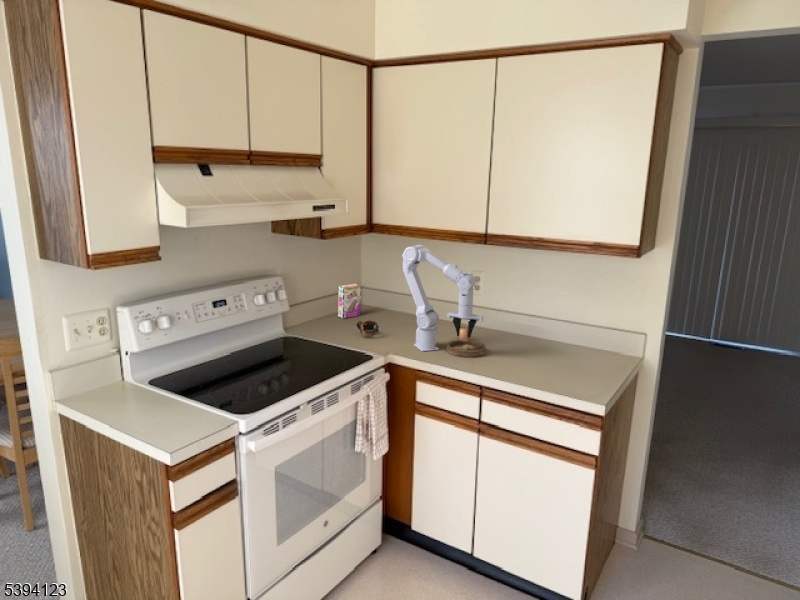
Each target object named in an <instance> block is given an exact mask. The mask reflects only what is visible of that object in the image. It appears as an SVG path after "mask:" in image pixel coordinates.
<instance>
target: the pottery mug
mask: <svg viewBox="0 0 800 600" xmlns="http://www.w3.org/2000/svg"><path fill="white" fill-rule="evenodd" d="M356 327H357V329H358V330H359V333H361V337H362V338H363V339H365V338H366V337H371V336H374V335H376V333H379V332H380V330H379V328H380V326H379V325H378V323H377V322H376V321H375V320H372V319H367V320H364V321H361V320H359V321H357V322H356Z"/></svg>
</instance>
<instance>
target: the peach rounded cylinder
mask: <svg viewBox="0 0 800 600" xmlns="http://www.w3.org/2000/svg"><path fill="white" fill-rule="evenodd" d="M468 330H469V328H468V327H467V326H460V328H459V340H460V341H468V340H470V338H468Z"/></svg>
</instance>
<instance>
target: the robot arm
mask: <svg viewBox="0 0 800 600" xmlns="http://www.w3.org/2000/svg"><path fill="white" fill-rule="evenodd" d="M401 256H402V272H403V274H404V277H405V280H406V283H407V285H408V288H409V290H410V293H411V296H412V298H413V301H414V303H415V306H416V310H415V311H416V312H415V316H416V325H417V328H416V330H415V343H413V346H414V347H416V348H417V349H418V350H420V351H421V352H428V351H438V350H440V348H439V347H437V346H436V344H437V343H436V341H437V338H436V335H437V324H438V322H439V320H440V319H439V314H438V313H437V312H436V310H435V309H434V307H433V306H432V305H431V304H430V302H429V300H428V297H427V295H426V291H425V289H424V286H423V284H422V281H421V279H420V276H419V273H418V270H417V268H418V267H419V265H420V263H421V262H427V263H428V264H431V265H432V266H434V267H435V268H438V269H439V270H440V271H442V273H443V276H444V277H445V278H447V279H449V280H450V281H452V282H453V283H455V284H456V285H457V287H458V308H457V309H458V310H457V311H458V312H447V314H446V317H447V319H450V318H451V319H452V323H453V325H454V328H455V331H456V336H457V337H458V336H459V328H460V327H462V326H461V324H462V320H466V321H468V322H467V323H468V324H467V325H468V328H469V330H468V338H469V339H470V338H471V337H472V333H473V330H474V328H475V326H476V324H477V322H479V323H483V321H484V316H482V315H478V314H473V309H474V308H473V307H474V306H473V305H474V286H475V285H476V284H477V280H476V278H475V276H474V275H473V274H472V273H467V271H465V270H462V269H460V268H459V267H458V264H456V263H449V264H448V263H446V261H444V260H443V259H441V258H440V257H439V256H438V255H437V254H435V253H434V252H432V251H431V250H430V249H429V248H428V247H425V246H424V245H422V244H417V245H413V246H408V247H406V248H405V249H404V251H403V253H402V254H401Z"/></svg>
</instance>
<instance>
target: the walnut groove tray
mask: <svg viewBox="0 0 800 600" xmlns="http://www.w3.org/2000/svg"><path fill="white" fill-rule="evenodd" d="M446 352H447V353H448V354H450V355H452V356H453V357H459V358H467V359H469V358H471V359H473V358H479V357H482V356H484V355H485V354H486V345H485V344H484V343H482V342H479V341H476V340H475V341H474V340H470V339H469V340H468V341H460V340H458V339H457V340H451V341H449V342H447V343H446Z"/></svg>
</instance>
